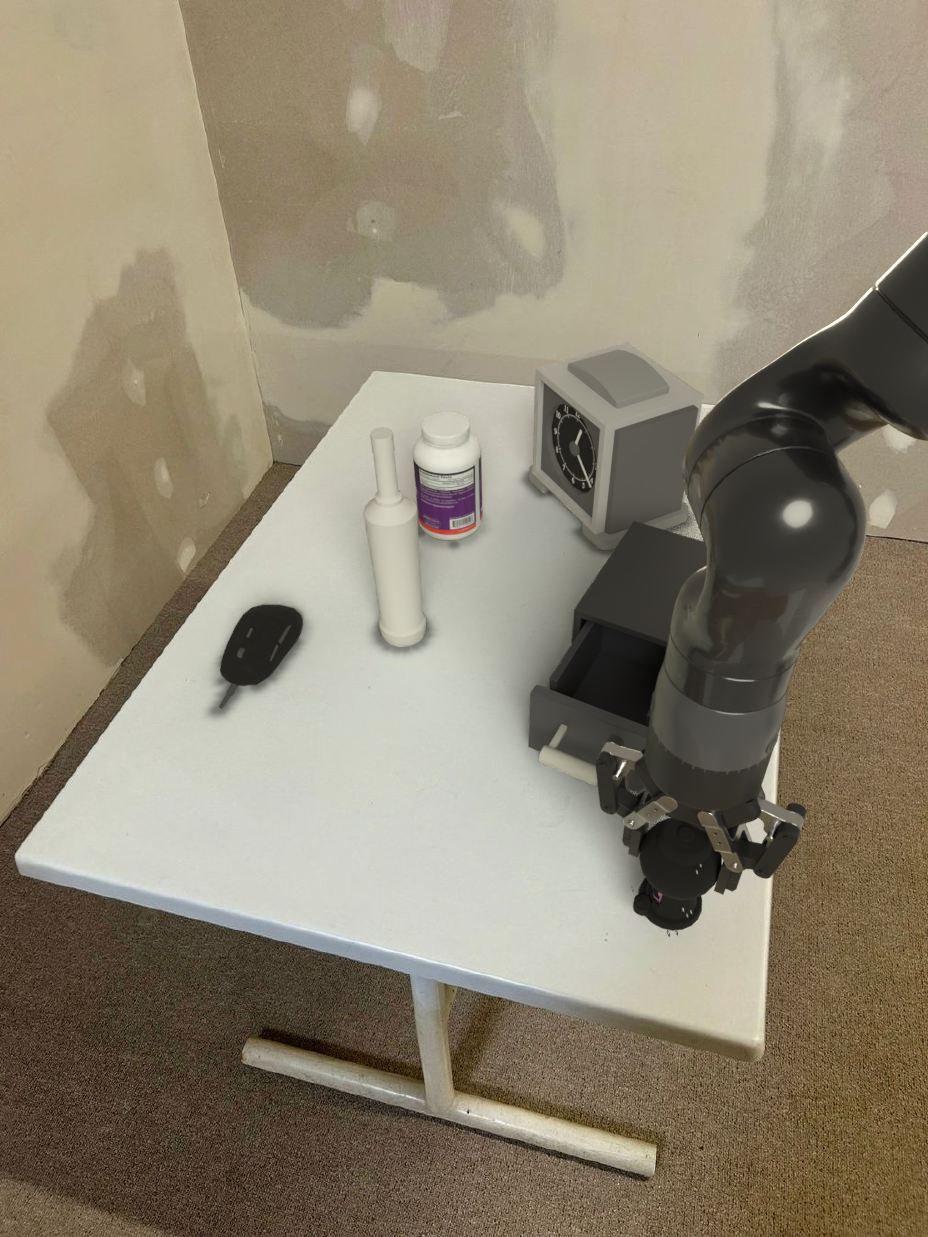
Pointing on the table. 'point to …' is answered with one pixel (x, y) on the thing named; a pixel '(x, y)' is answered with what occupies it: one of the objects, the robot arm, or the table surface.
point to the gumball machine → (675, 874)
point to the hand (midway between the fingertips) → (678, 864)
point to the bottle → (394, 549)
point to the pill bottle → (448, 477)
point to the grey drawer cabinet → (641, 583)
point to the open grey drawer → (595, 701)
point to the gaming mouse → (259, 644)
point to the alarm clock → (613, 440)
